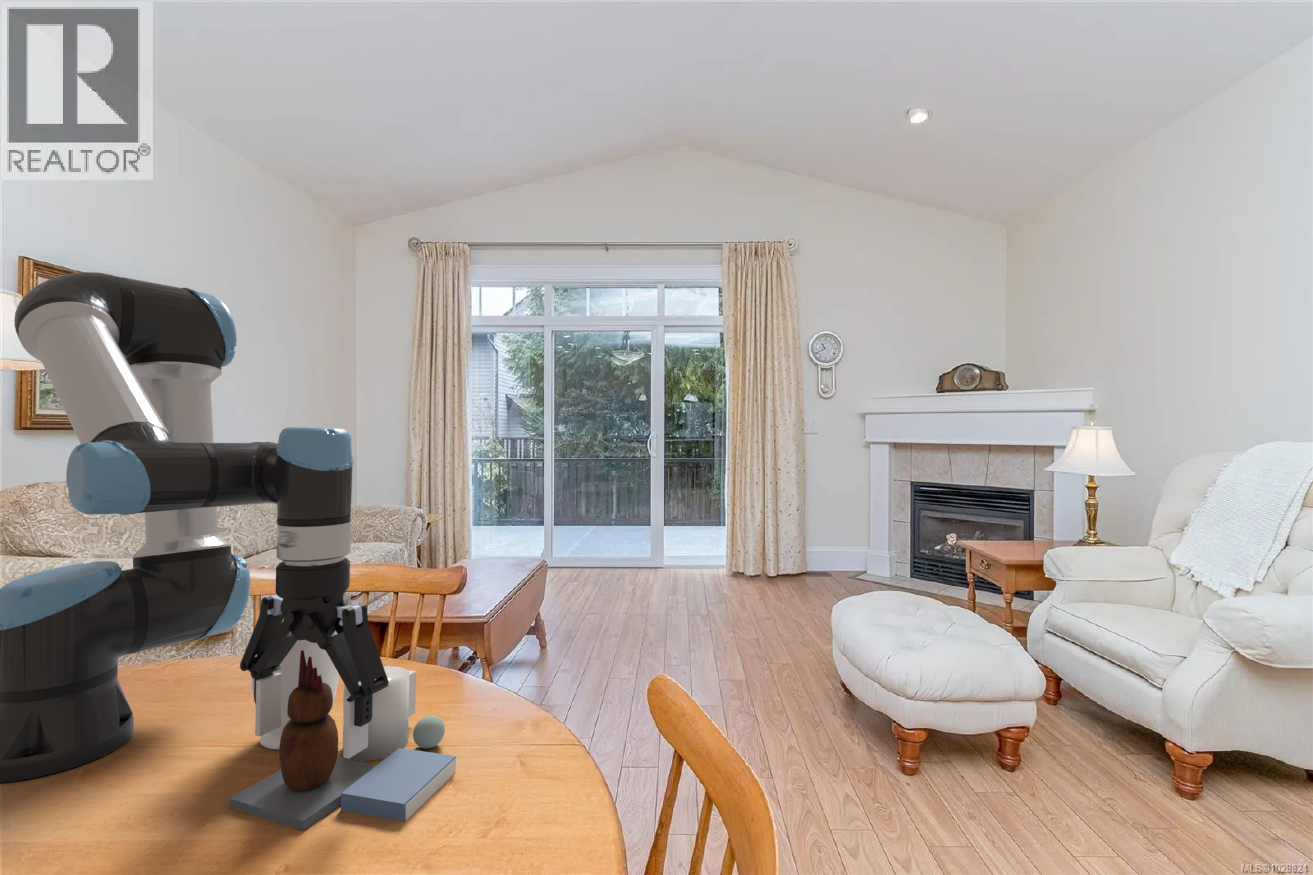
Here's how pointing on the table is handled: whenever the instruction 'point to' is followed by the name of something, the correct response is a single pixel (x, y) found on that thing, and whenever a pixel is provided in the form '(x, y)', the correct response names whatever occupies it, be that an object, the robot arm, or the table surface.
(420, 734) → the ball
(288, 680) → the jar
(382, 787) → the book
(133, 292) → the robot arm
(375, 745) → the mug
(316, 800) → the coaster
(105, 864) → the table surface
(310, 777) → the wooden figurine
